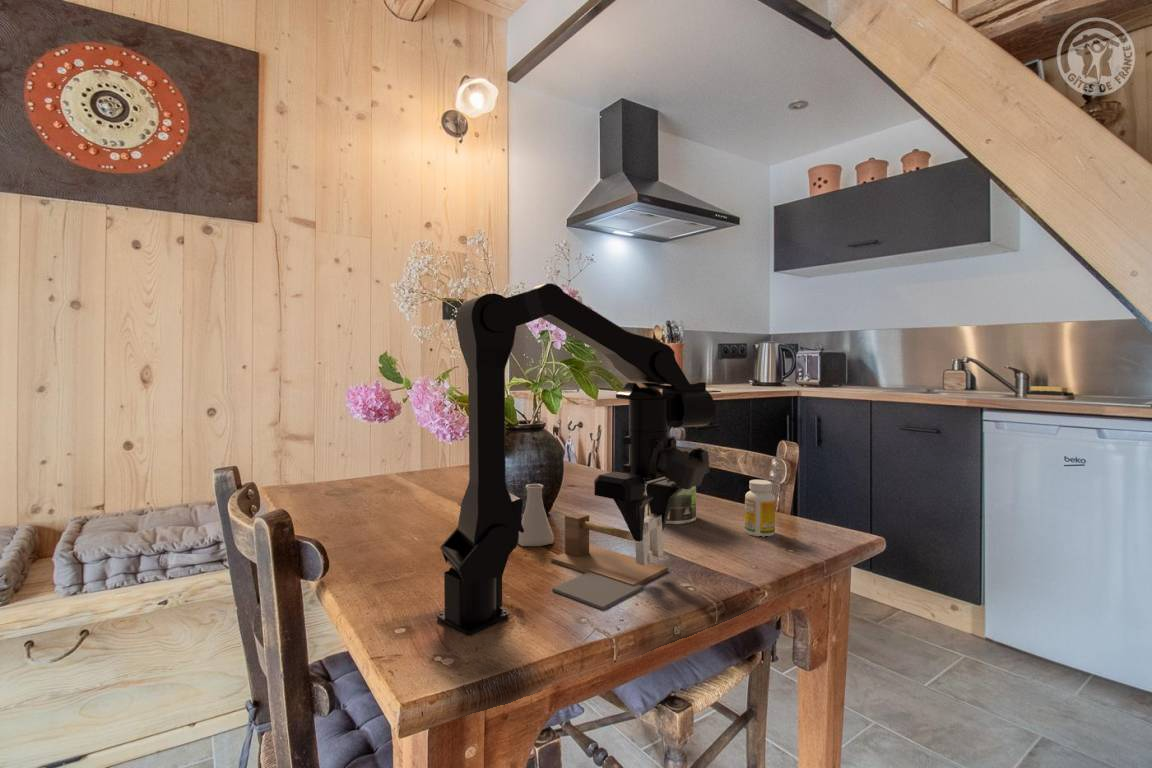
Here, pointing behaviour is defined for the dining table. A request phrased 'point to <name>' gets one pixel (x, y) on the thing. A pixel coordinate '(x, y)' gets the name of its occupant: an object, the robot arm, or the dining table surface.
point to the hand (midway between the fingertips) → (648, 536)
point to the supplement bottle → (760, 509)
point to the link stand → (602, 553)
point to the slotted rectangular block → (656, 540)
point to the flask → (535, 520)
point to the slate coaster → (596, 590)
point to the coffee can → (681, 503)
